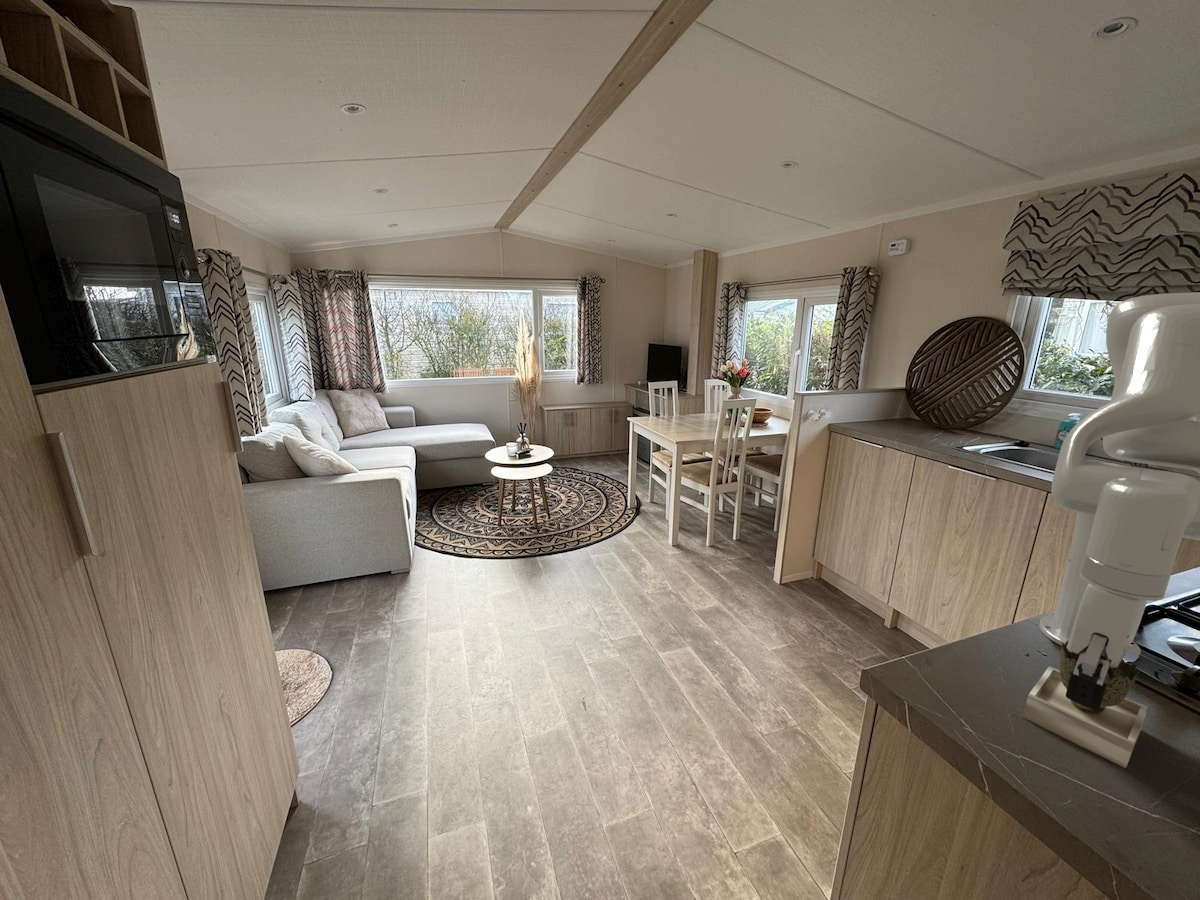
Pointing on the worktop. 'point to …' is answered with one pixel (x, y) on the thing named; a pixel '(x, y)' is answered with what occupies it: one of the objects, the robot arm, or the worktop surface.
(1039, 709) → the birch tray
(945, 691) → the worktop surface
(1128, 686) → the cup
